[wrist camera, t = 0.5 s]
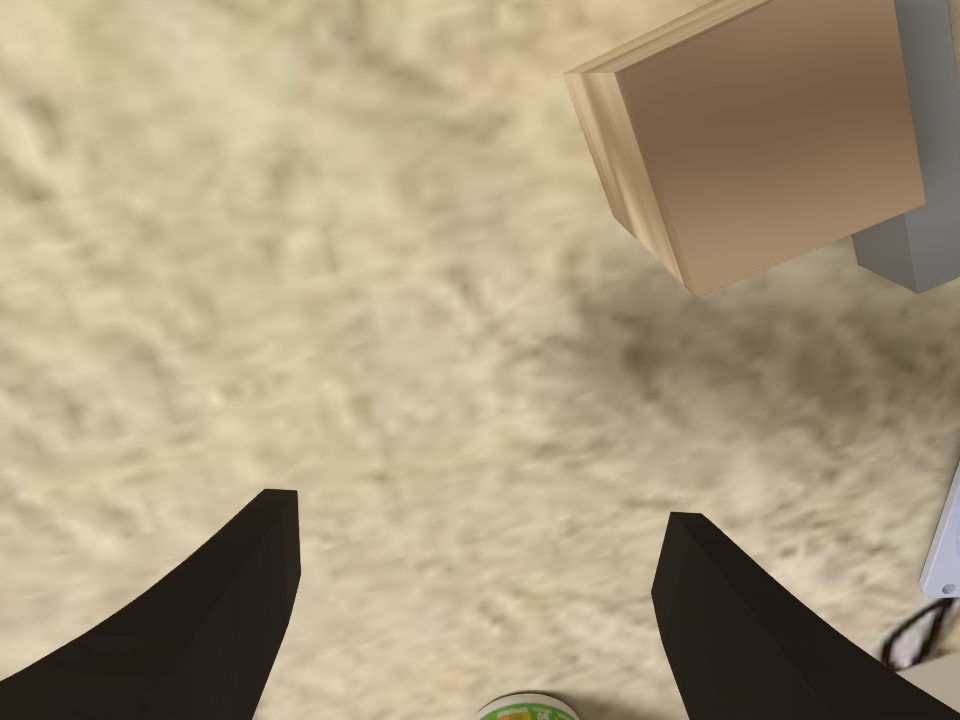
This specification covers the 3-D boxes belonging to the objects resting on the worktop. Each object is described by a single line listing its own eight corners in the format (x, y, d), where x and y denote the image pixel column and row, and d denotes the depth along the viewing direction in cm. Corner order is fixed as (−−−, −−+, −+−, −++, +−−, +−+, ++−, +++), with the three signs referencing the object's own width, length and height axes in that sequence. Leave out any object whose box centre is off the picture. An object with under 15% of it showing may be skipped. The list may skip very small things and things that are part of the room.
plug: (753, 155, 19) (926, 203, 12) (613, 217, 20) (696, 297, 13) (713, 1, 18) (885, -52, 10) (562, 74, 18) (623, 72, 11)
